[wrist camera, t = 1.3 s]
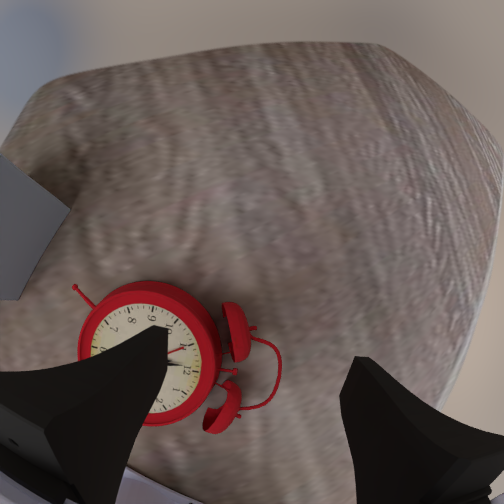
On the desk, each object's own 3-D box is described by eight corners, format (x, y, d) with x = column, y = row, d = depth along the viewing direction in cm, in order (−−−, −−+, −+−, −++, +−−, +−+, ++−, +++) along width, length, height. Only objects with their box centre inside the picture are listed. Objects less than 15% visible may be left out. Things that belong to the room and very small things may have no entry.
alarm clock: (67, 260, 17) (301, 305, 16) (110, 271, 23) (292, 305, 22) (53, 405, 16) (267, 471, 14) (95, 388, 22) (268, 433, 21)
